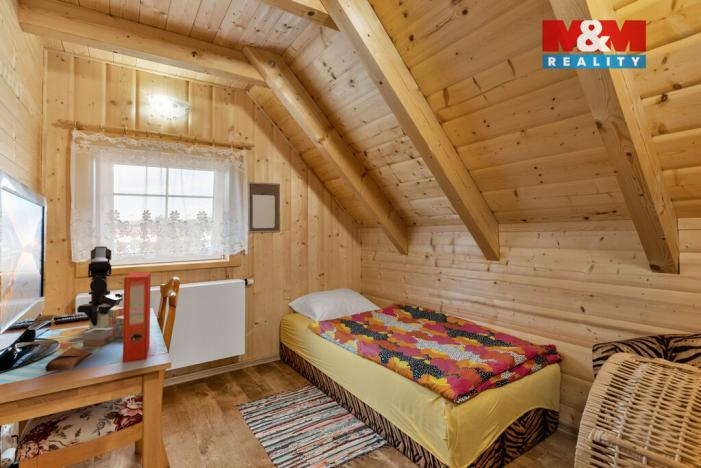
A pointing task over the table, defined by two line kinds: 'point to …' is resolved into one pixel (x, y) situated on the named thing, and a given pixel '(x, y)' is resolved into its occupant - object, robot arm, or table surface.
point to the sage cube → (100, 321)
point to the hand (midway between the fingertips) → (99, 324)
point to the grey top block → (97, 333)
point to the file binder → (136, 316)
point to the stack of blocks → (116, 320)
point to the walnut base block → (98, 341)
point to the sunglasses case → (67, 359)
